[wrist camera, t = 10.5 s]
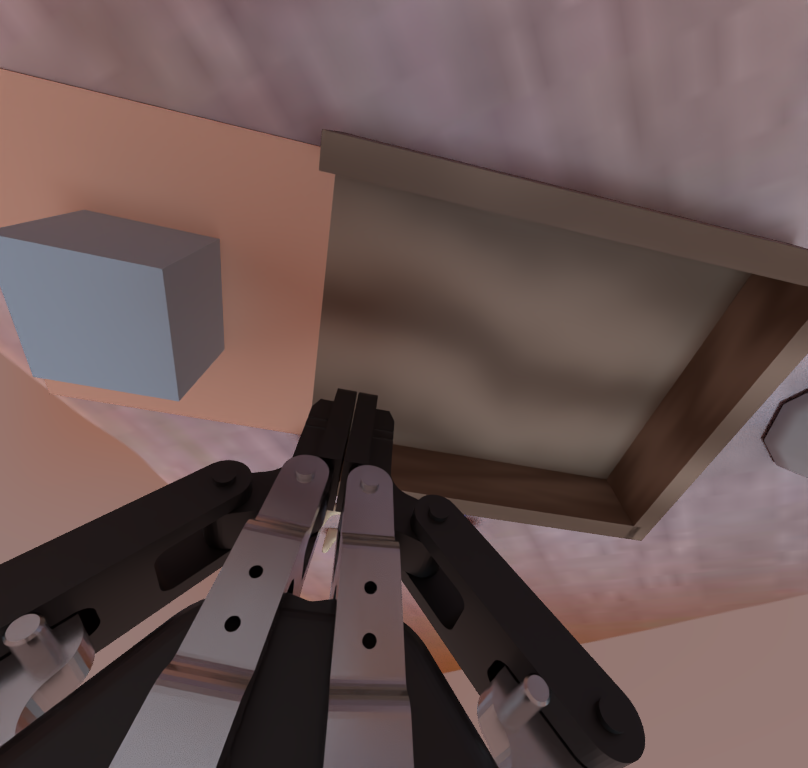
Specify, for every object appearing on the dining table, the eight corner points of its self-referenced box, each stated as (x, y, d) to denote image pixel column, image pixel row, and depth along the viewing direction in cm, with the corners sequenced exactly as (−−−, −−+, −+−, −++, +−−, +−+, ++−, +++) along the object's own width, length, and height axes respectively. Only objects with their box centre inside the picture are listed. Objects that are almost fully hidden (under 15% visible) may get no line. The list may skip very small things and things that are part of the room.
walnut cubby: (340, 131, 16) (321, 129, 12) (794, 245, 18) (882, 269, 15) (308, 442, 25) (293, 489, 22) (612, 491, 27) (641, 540, 24)
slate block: (83, 209, 17) (-20, 232, 13) (219, 239, 18) (162, 268, 14) (110, 328, 21) (33, 376, 16) (224, 349, 21) (179, 401, 17)
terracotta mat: (-66, 52, 15) (-71, 51, 14) (338, 150, 16) (337, 151, 16) (52, 391, 23) (49, 393, 23) (309, 434, 25) (308, 436, 25)
